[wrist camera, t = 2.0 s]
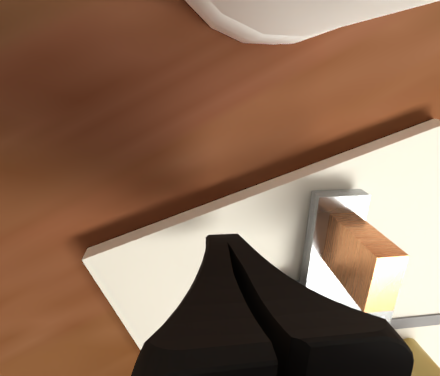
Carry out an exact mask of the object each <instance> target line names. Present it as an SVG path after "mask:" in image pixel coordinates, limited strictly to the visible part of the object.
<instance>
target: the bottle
mask: <svg viewBox="0 0 440 376" xmlns="http://www.w3.org/2000/svg"><path fill="white" fill-rule="evenodd" d="M185 1H186V2H187V3H188V4H189V5H190V6H191V7H192V9H193V10H194V11H195V12H196V13H197V14H198V15H199V16H200V17H201V18H202V19H203V20H204V21H205V22H206V23H207V24H208V25H209V26H210V27H211V28H212V29H214V30H216V31H219V32H221V33H223V34H225V35H227V36H229V37H231V38H233V39H235V40H237V41H239V42H242V43H252V44H271V45H276V44H293V43H297V42H300V41H303V40H305V39H308V38H311V37H314V36H317V35H320V34H323V33H325V32H328V31H331V30H334V29H337V28H340V27H343V26H347V25H351V24H354V23H358V22H362V21H366V20H369V19H373V18H377V17H381V16H384V15H388V14H392V13H396V12H399V11H403V10H407V9H411V8H414V7H418V6H422V5H426V4H429V3H433V2H437V1H440V0H185Z"/></svg>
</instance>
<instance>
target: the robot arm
mask: <svg viewBox="0 0 440 376" xmlns="http://www.w3.org/2000/svg"><path fill="white" fill-rule="evenodd" d="M413 365H414V358H413V352H412V351H411V349H410V348H409V346H408V345H407V344H406V342H405V341H404V340H403V339H402V338H401V336H400V335H399V334H398V333H397V332H396V331H395V329H394V328H393V327H392V326H391V325H390V324H389V322H388V321H387V320H386V319H384V318H381V317H378V316H375V315H372V314H369V313H366V312H363V311H360V310H357V309H354V308H351V307H349V306H346V305H344V304H341V303H339V302H336V301H334V300H332V299H330V298H327V297H325V296H323V295H321V294H319V293H317V292H315V291H313V290H311V289H309V288H307V287H306V286H304V285H302V284H300V283H299V282H297V281H295V280H294V279H292V278H291V277H289V276H288V275H286V274H285V273H283V272H282V271H280V270H279V269H278V268H276V267H275V266H274V265H272V264H271V263H270V262H269V261H267V260H266V259H265V258H264V257H263V256H261V255H260V254H259V253H258V252H257V251H256V250H255V249H254V248H252V247H251V246H250V245H249V244H248V243H247V242H246V241H245V240H244V239H243V238H242V237H241V236H240V235H239V234H215V235H208V236H207V237H206V249H205V253H204V257H203V260H202V263H201V266H200V268H199V270H198V273H197V275H196V277H195V279H194V281H193V283H192V285H191V287H190V289H189V291H188V292H187V294H186V295H185V297H184V298H183V300H182V301H181V303H180V304H179V306H178V307H177V308H176V310H175V311H174V312H173V313H172V314H171V316H170V317H169V318H168V319H167V320H166V322H165V323H164V324H163V325H162V326H161V327H160V328H159V329H158V330H157V331H156V332H155V333H154V334H153V335H152V336H151V337H150V338H149V339H148V340H146V341H145V342H144V344H143V347H142V349H141V351H140V354H139V356H138V358H137V361H136V363H135V366H134V369H133V372H132V375H131V376H411V374H412V370H413Z"/></svg>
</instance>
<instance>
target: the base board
mask: <svg viewBox="0 0 440 376" xmlns="http://www.w3.org/2000/svg"><path fill="white" fill-rule="evenodd" d="M339 189H362V190H363V191H365V192H367V193H368V194H370V195H371V197H370V202H369V206H368V211H367V216H366V220H365V221H367V222H368V223H369V224H370V225H372V226H373V227H374V228H375V229H377V230H378V231H379V232H380V233H382V234H383V235H384V236H385V237H387V238H388V239H389V240H390V241H392V242H393V243H394V244H395V245H397V246H398V247H399V248H401V249H402V250H403V251H404V252H406V253H407V254H408V255H409V259H408V263H407V266H406V270H405V273H404V276H403V280H402V284H401V288H400V291H399V294H398V298H397V301H396V305H395V308H394V312H393V315H392V318H391V322H390V325H391V326H392V327H393V328H394V329H395V331H396V332H397V333H398V334H399V335H400V336H401V338H402V339H403V340H404V341H405V342H406V344H407V345H408V346H409V348H410V349H411V351H412V352H413V358H414V365H413V370H412V374H411V376H440V120H438V119H431V120H429V121H426V122H423V123H421V124H418V125H415V126H413V127H410V128H407V129H405V130H402V131H399V132H397V133H394V134H391V135H389V136H386V137H383V138H381V139H378V140H375V141H373V142H370V143H367V144H365V145H362V146H359V147H357V148H354V149H351V150H349V151H346V152H343V153H340V154H338V155H335V156H332V157H330V158H327V159H324V160H322V161H319V162H316V163H314V164H311V165H308V166H306V167H303V168H300V169H298V170H295V171H292V172H290V173H287V174H284V175H282V176H279V177H276V178H274V179H271V180H268V181H266V182H263V183H260V184H258V185H255V186H252V187H250V188H247V189H244V190H242V191H239V192H236V193H234V194H231V195H228V196H226V197H223V198H220V199H218V200H215V201H212V202H210V203H207V204H204V205H201V206H199V207H196V208H193V209H191V210H188V211H185V212H183V213H180V214H177V215H175V216H172V217H169V218H167V219H164V220H161V221H159V222H156V223H153V224H151V225H148V226H145V227H143V228H140V229H137V230H135V231H132V232H129V233H127V234H124V235H121V236H119V237H116V238H113V239H111V240H108V241H105V242H103V243H100V244H97V245H95V246H92V247H89V248H87V250H86V252H85V254H84V256H83V258H82V261H83V263H84V264H85V266H86V268H87V269H88V271H89V272H90V274H91V275H92V277H93V278H94V280H95V281H96V283H97V284H98V286H99V287H100V289H101V290H102V292H103V294H104V295H105V297H106V298H107V300H108V301H109V303H110V304H111V306H112V307H113V309H114V310H115V312H116V313H117V315H118V316H119V318H120V320H121V321H122V323H123V324H124V326H125V327H126V329H127V330H128V332H129V333H130V335H131V336H132V338H133V339H134V341H135V342H136V344H137V346H138V347H139V349H140V350H141V349H142V347H143V344H144V342H145V341H146V340H148V339H149V338H150V337H151V336H152V335H153V334H154V333H155V332H156V331H157V330H158V329H159V328H160V327H161V326H162V325H163V324H164V323H165V322H166V320H167V319H168V318H169V317H170V316H171V314H172V313H173V312H174V311H175V310H176V308H177V307H178V306H179V304H180V303H181V301H182V300H183V298H184V297H185V295H186V294H187V292H188V291H189V289H190V287H191V285H192V283H193V281H194V279H195V277H196V275H197V273H198V270H199V268H200V266H201V263H202V260H203V257H204V253H205V249H206V237H207V236H208V235H215V234H239V235H240V236H241V237H242V238H243V239H244V240H245V241H246V242H247V243H248V244H249V245H250V246H251V247H252V248H254V249H255V250H256V251H257V252H258V253H259V254H260V255H261V256H263V257H264V258H265V259H266V260H267V261H269V262H270V263H271V264H272V265H274V266H275V267H276V268H278V269H279V270H280V271H282V272H283V273H285V274H286V275H288V276H289V277H291V278H292V279H294V280H295V281H298V280H299V278H300V271H301V264H302V257H303V249H304V242H305V235H306V227H307V220H308V213H309V206H310V198H311V191H312V190H339Z"/></svg>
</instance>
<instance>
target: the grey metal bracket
mask: <svg viewBox="0 0 440 376" xmlns="http://www.w3.org/2000/svg"><path fill="white" fill-rule="evenodd" d="M370 197H371V195H370V194H368V193H367V192H365V191H363V190H362V189H339V190H312V191H311V198H310V206H309V213H308V220H307V227H306V235H305V242H304V249H303V257H302V264H301V271H300V278H299V280H298V281H297V282H299V283H300V284H302V285H304V286H306V287H307V288H309V289H311V290H313V291H315V292H317V293H319V294H321V295H323V296H325V297H327V298H330V299H332V300H334V301H336V302H339V303H341V304H344V305H346V306H349V307H351V308H354V309H357V310H360V311H363V312H366V313H369V314H372V315H375V316H378V317H381V318H384V319H386V320H387V321H388V322H389V324H390V322H391V318H392V315H393V312H394V308H395V305H396V301H397V298H398V294H399V291H400V288H401V284H402V280H403V276H404V273H405V270H406V266H407V263H408V259H409V255H408V254H407V253H406V252H404V251H403V250H402V249H401V248H399V247H398V246H397V245H395V244H394V243H393V242H392V241H390V240H389V239H388V238H387V237H385V236H384V235H383V234H382V233H380V232H379V231H378V230H377V229H375V228H374V227H373V226H372V225H370V224H369V223H368V222H367V221H365V220H366V216H367V211H368V206H369V202H370Z"/></svg>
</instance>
